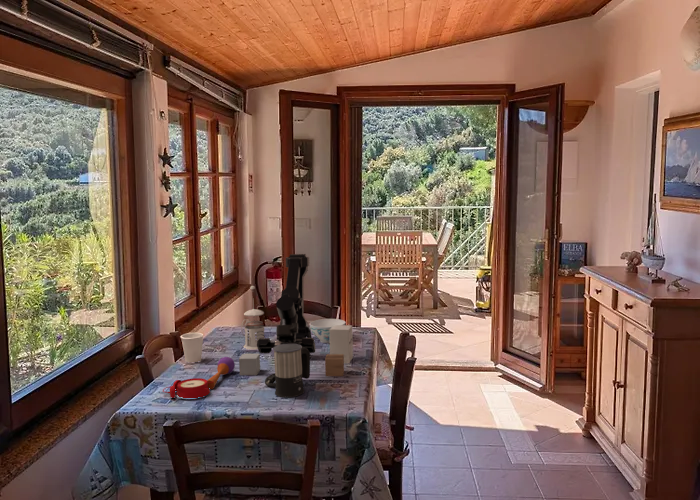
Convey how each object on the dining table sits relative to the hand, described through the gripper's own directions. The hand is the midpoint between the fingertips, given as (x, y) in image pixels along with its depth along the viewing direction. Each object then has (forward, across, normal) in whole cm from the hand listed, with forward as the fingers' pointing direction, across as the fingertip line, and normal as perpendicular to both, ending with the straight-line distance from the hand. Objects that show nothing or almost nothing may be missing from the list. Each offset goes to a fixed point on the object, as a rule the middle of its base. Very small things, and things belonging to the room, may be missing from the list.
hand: (284, 368), depth 197 cm
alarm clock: (+9, -30, +1) cm, 31 cm away
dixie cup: (-17, -40, +27) cm, 51 cm away
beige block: (-7, -15, +17) cm, 24 cm away
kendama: (-2, -24, +12) cm, 27 cm away
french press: (-31, -21, +40) cm, 55 cm away
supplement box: (-16, +16, +26) cm, 35 cm away
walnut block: (-6, +15, +15) cm, 22 cm away
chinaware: (-36, +9, +46) cm, 59 cm away
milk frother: (+6, 0, +4) cm, 7 cm away
